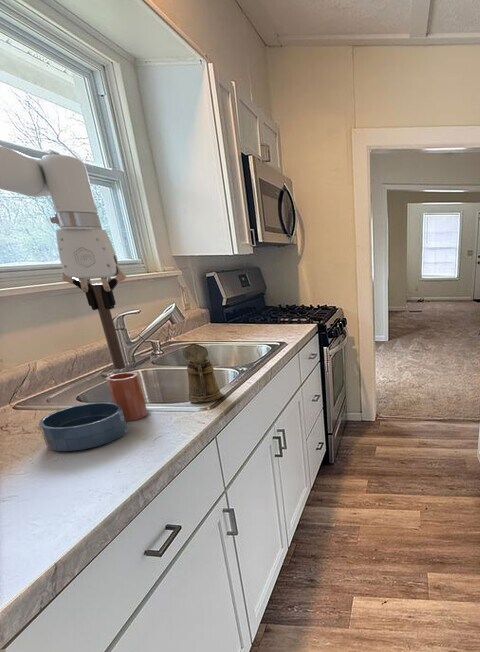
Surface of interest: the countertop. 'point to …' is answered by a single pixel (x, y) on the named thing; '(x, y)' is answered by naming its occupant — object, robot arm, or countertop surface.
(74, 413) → the bowl
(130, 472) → the countertop surface
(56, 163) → the robot arm
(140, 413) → the holder
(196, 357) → the wooden mug
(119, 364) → the stick
